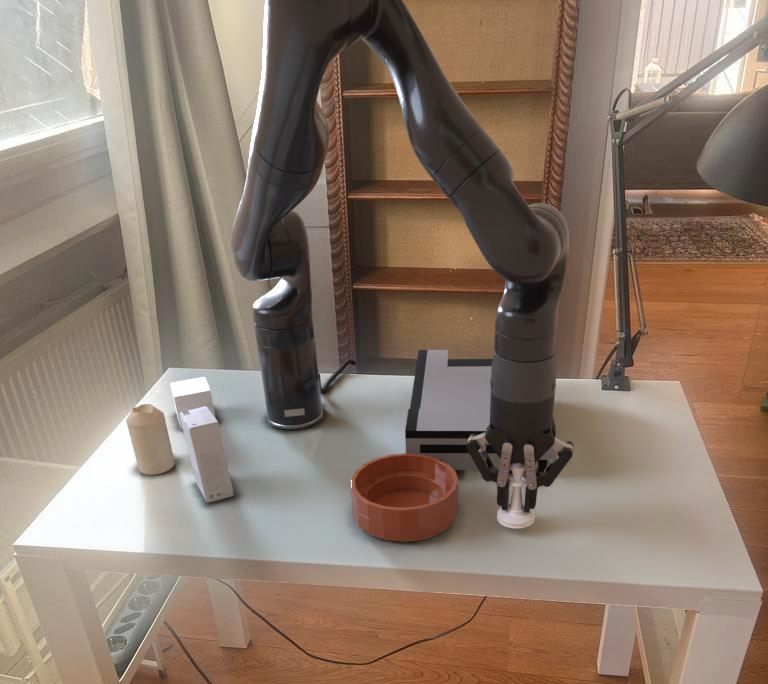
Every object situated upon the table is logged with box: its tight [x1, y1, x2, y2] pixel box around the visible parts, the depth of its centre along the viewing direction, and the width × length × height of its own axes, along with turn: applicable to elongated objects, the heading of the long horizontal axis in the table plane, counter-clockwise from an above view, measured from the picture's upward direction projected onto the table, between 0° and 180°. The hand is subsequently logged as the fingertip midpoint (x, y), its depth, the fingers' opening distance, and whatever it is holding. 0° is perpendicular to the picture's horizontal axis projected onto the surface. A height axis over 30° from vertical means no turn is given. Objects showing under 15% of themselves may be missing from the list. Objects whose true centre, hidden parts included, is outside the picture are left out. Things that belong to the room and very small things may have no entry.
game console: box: [404, 349, 557, 474], centre depth 124 cm, size 21×32×8 cm, turn 175°
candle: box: [125, 403, 175, 476], centre depth 119 cm, size 6×6×10 cm
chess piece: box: [496, 463, 536, 530], centre depth 100 cm, size 5×5×10 cm
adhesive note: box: [169, 376, 217, 430], centre depth 133 cm, size 6×6×6 cm
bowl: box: [350, 452, 459, 542], centre depth 106 cm, size 14×14×6 cm
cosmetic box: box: [180, 406, 235, 503], centre depth 111 cm, size 6×4×12 cm
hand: (516, 507), depth 102 cm, fingers closed on chess piece, 2 cm apart
